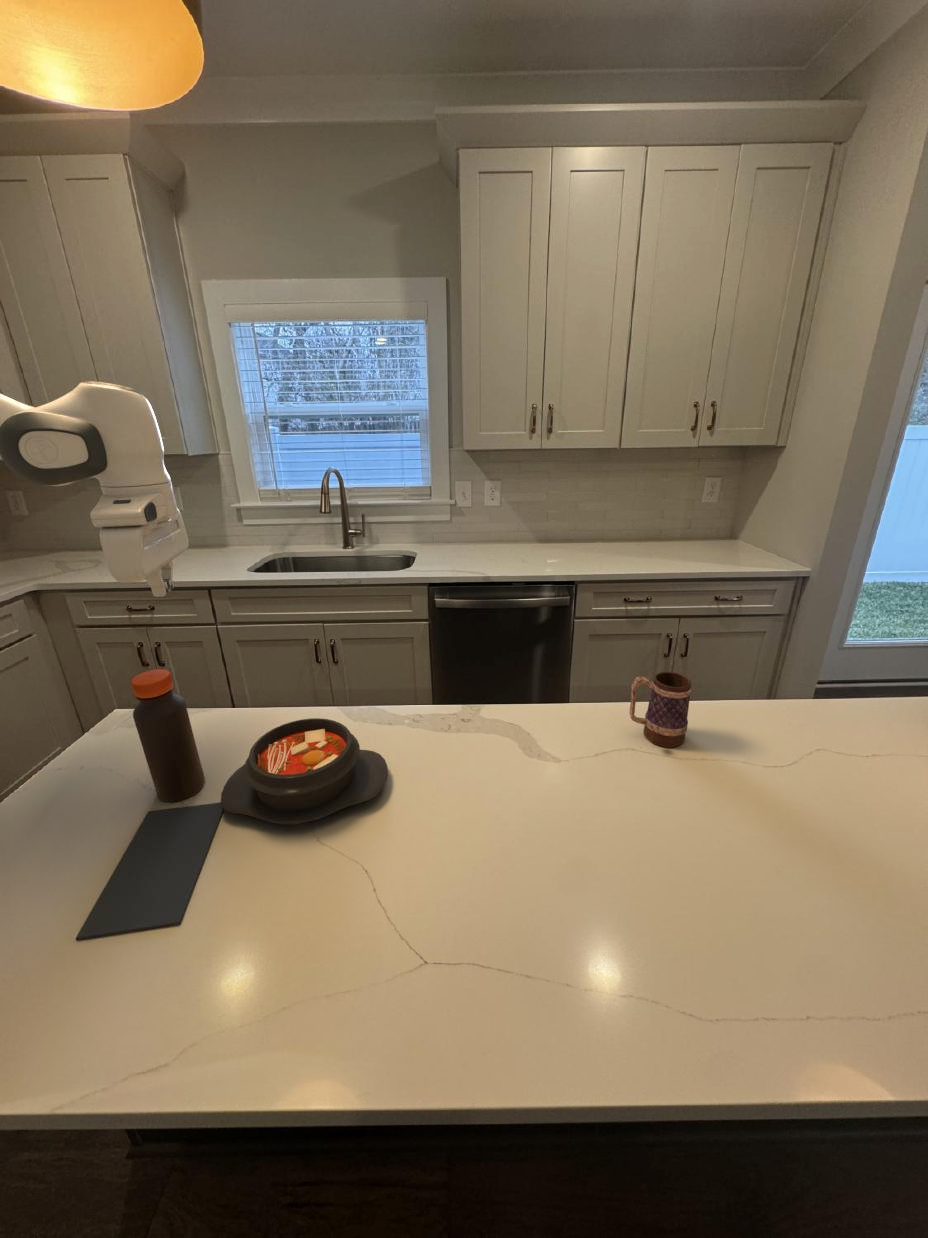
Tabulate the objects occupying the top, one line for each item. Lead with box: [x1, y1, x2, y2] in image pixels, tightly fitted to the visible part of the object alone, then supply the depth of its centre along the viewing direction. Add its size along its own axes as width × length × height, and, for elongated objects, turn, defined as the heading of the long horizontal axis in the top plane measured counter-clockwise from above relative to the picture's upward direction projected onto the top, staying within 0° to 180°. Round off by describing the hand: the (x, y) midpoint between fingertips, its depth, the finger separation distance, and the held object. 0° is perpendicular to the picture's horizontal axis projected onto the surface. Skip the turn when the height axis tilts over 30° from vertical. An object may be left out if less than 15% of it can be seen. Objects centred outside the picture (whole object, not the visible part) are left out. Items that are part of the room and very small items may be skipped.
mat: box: [75, 801, 225, 941], centre depth 67 cm, size 11×20×1 cm, turn 9°
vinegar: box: [130, 668, 206, 803], centre depth 77 cm, size 7×7×20 cm
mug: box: [628, 671, 692, 748], centre depth 89 cm, size 10×7×12 cm
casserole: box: [220, 717, 389, 825], centre depth 78 cm, size 25×19×8 cm
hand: (164, 592), depth 80 cm, fingers closed
